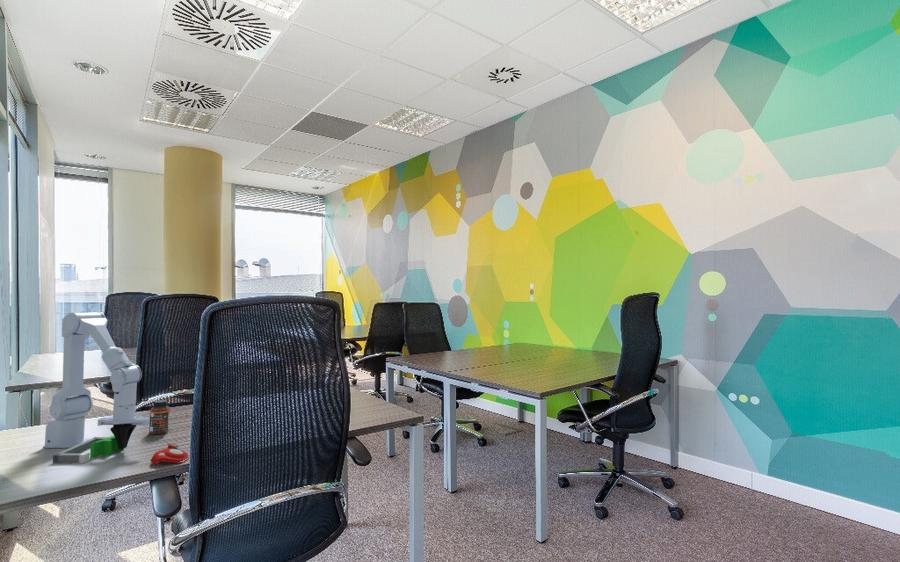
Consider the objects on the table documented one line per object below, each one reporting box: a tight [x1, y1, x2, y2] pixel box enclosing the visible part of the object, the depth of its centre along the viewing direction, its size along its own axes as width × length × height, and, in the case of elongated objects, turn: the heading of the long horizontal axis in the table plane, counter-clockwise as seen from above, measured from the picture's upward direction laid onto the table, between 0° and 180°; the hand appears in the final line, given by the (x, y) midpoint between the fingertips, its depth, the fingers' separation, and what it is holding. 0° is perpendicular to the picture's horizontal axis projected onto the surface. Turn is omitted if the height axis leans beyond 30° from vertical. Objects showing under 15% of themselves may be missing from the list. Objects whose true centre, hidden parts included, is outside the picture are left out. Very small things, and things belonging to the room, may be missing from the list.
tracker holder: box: [150, 442, 189, 466], centre depth 134 cm, size 12×4×10 cm
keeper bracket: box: [52, 436, 109, 464], centre depth 139 cm, size 9×17×2 cm, turn 4°
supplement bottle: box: [148, 399, 171, 435], centre depth 161 cm, size 6×6×11 cm
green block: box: [89, 435, 125, 459], centre depth 140 cm, size 11×4×5 cm, turn 173°
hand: (122, 448), depth 139 cm, fingers closed
